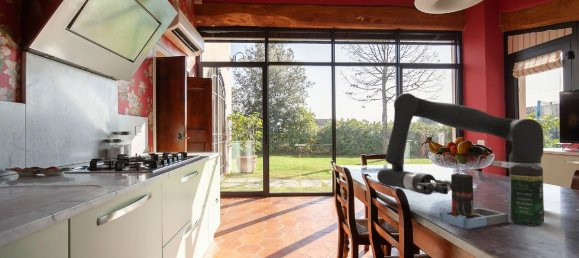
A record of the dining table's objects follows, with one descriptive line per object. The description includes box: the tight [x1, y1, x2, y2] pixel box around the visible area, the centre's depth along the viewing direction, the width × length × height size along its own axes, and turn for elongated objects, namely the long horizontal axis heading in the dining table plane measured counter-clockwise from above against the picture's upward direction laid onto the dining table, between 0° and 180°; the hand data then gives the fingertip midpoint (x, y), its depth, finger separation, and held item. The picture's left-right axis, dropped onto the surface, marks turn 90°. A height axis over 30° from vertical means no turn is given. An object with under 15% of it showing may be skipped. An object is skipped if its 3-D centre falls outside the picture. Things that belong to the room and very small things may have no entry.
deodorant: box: [450, 173, 475, 219], centre depth 94 cm, size 6×6×15 cm
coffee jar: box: [509, 163, 545, 227], centre depth 94 cm, size 10×8×19 cm
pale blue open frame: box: [439, 206, 509, 230], centre depth 96 cm, size 18×10×3 cm, turn 110°
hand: (457, 190), depth 96 cm, fingers open, 8 cm apart
